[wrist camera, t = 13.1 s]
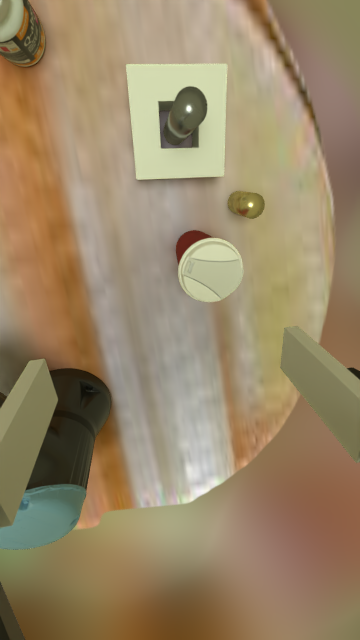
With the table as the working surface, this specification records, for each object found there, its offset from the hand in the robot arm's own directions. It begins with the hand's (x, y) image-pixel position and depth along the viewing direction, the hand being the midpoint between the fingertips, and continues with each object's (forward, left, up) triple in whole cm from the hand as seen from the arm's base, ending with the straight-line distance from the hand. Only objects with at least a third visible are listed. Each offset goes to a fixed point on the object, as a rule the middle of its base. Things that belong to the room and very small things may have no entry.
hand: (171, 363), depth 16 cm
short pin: (+13, +6, -31) cm, 34 cm away
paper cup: (+6, -1, -32) cm, 32 cm away
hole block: (+4, +15, -31) cm, 35 cm away
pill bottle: (-13, +24, -32) cm, 42 cm away
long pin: (+4, +15, -31) cm, 35 cm away
